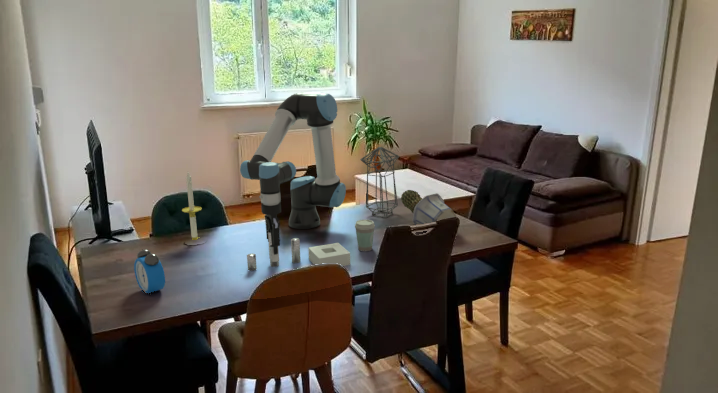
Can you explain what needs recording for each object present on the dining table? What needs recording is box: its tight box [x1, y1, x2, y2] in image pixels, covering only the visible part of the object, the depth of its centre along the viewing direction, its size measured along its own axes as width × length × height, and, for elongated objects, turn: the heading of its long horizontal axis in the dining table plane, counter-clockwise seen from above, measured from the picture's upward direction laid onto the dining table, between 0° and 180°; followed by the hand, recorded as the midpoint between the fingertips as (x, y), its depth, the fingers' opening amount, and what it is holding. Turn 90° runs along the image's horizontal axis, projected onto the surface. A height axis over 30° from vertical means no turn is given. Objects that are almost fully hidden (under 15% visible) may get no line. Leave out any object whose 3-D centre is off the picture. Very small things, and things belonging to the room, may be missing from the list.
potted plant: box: [400, 189, 457, 226], centre depth 264 cm, size 18×18×30 cm
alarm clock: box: [133, 248, 166, 294], centre depth 201 cm, size 13×6×15 cm, turn 43°
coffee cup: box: [354, 219, 376, 252], centre depth 239 cm, size 9×8×12 cm
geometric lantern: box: [360, 146, 401, 219], centre depth 282 cm, size 16×16×35 cm
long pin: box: [268, 231, 280, 268], centre depth 222 cm, size 3×3×14 cm
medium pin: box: [290, 237, 301, 264], centre depth 226 cm, size 3×3×10 cm
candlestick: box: [181, 171, 203, 240], centre depth 247 cm, size 10×10×32 cm
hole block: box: [308, 242, 351, 267], centre depth 226 cm, size 13×13×5 cm
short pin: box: [246, 253, 258, 272], centre depth 220 cm, size 3×3×6 cm
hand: (274, 259), depth 224 cm, fingers closed on long pin, 3 cm apart
